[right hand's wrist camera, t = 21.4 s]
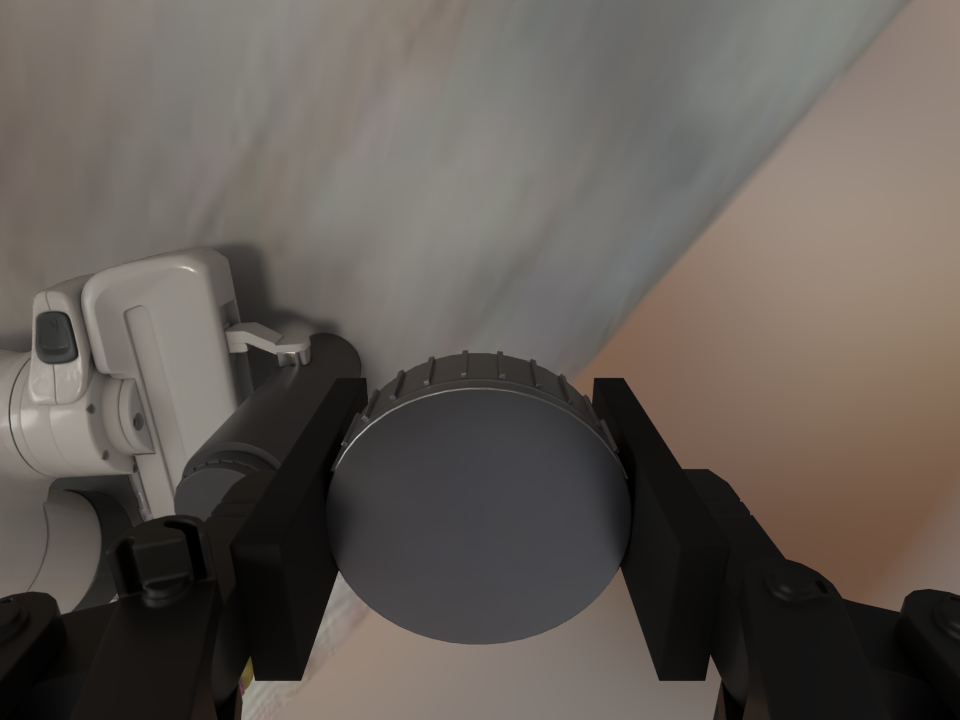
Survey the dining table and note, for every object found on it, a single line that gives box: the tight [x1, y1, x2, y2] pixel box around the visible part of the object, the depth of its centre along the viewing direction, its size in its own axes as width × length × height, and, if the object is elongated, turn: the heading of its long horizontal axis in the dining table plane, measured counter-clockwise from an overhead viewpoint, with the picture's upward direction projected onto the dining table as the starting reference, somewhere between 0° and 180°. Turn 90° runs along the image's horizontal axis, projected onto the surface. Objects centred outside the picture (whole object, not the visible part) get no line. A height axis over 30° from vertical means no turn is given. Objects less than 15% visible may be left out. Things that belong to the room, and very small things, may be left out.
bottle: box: [174, 333, 361, 522], centre depth 34 cm, size 5×5×19 cm
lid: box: [325, 350, 632, 644], centre depth 11 cm, size 6×6×2 cm
